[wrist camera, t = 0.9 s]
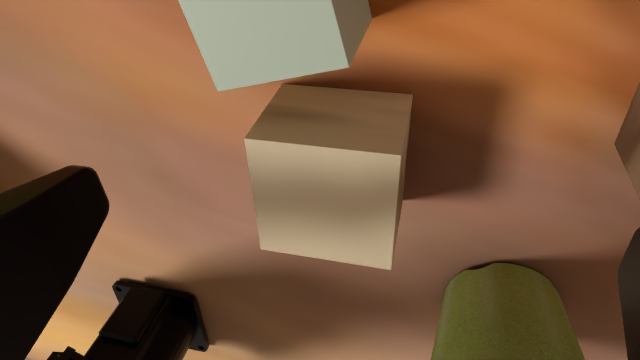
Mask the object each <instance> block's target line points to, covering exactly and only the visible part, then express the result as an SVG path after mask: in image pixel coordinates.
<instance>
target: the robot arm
mask: <svg viewBox="0 0 640 360" xmlns="http://www.w3.org/2000/svg"><path fill="white" fill-rule="evenodd" d="M108 212H109V200H108V198H107V196H106V193H105V191H104V189H103V186H102V184H101V182H100V179H99V177H98V175H97V173H96V171H95V170H94V169H93V168H90V167H85V166H76V165H71V166H67V167H64V168H62V169H60V170H57V171H55V172H52V173H50V174H47V175H45V176H42V177H40V178H37V179H35V180H33V181H30V182H28V183H25V184H23V185H20V186H18V187H15V188H13V189H10V190H8V191H5V192H3V193H1V194H0V360H25V358H26V357H27V355H28V353H29V352H30V350H31V349H32V347H33V345H34V344H35V342H36V341H37V339H38V338H39V336H40V334H41V333H42V331H43V330H44V328H45V326H46V325H47V323H48V322H49V320H50V319H51V317H52V315H53V314H54V312H55V311H56V309H57V307H58V306H59V304H60V303H61V301H62V300H63V298H64V296H65V295H66V293H67V292H68V290H69V288H70V287H71V285H72V283H73V282H74V280H75V278H76V276H77V274H78V272H79V270H80V268H81V266H82V264H83V262H84V260H85V258H86V256H87V254H88V252H89V250H90V248H91V246H92V244H93V242H94V240H95V239H96V237H97V235H98V233H99V231H100V229H101V227H102V225H103V223H104V221H105V219H106V217H107V214H108ZM618 285H619V293H620V301H621V309H622V317H623V325H624V332H625V340H626V348H627V356H628V360H640V227H639V228H638V229H637V230H636V231H635V233H634V235H633V237H632V239H631V241H630V244H629V246H628V248H627V250H626V252H625V254H624V257H623V259H622V261H621V263H620V266H619V270H618ZM112 288H113V290H114V293H115V295H116V297H117V299H118V302H119V305H118V306H117V307H116V309H115V310H114V312H113V313H112V314H111V316H110V317H109V319H108V320H107V321H106V323H105V324H104V325H103V327H102V328H101V330H100V331H99V336H98V337H97V338H96V340H95V341H94V343H93V344H92V345H91V347H90V348H89V350H88V351H87V352H86V354H85V355H84V356H83V355H81V354H79V353H77V352H75V351H76V350H75V349H73V348H71V347H69V346H68V347H67V348H66V350H65V351H64V352H53V353H52V354H51V355H50V356H49V358H48V359H47V360H183V358H184V356H185V354H186V352H187V350H188V349H193V350H197V351H202V352H205V351H207V349H208V347H209V343H208V339H207V336H206V332H205V329H204V325H203V322H202V318H201V315H200V311H199V308H198V304H197V301H196V298H195V297H194V296H193V295H191V294H188V293H183V292H178V291H173V290H167V289H162V288H157V287H151V286H146V285H141V284H135V283H130V282H124V281H116V282H115V283H114V285H113V286H112Z"/></svg>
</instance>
